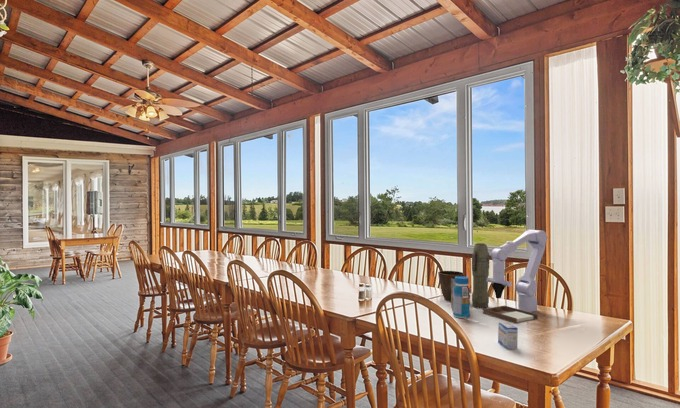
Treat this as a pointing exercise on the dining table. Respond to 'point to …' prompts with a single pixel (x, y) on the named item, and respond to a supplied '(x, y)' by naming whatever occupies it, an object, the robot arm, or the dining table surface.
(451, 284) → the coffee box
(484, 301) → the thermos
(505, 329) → the medicine box
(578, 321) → the dining table surface
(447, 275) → the plant pot
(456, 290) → the beverage bottle
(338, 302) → the dining table surface
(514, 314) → the cover plate
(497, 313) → the case
